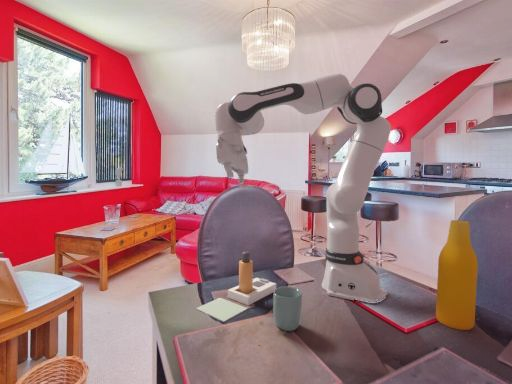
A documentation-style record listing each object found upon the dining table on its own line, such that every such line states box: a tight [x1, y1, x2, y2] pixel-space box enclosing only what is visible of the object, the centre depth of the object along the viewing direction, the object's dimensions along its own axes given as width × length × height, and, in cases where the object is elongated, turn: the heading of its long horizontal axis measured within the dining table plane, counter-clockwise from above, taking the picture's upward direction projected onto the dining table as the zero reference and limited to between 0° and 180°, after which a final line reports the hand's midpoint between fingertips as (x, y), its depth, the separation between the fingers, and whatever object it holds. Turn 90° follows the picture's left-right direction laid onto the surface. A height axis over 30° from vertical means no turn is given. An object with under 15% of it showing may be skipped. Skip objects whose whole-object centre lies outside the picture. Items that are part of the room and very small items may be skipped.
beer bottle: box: [435, 219, 479, 331], centre depth 83 cm, size 9×9×29 cm
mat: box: [195, 297, 248, 323], centre depth 89 cm, size 12×10×1 cm
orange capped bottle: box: [238, 251, 254, 295], centre depth 97 cm, size 4×4×15 cm
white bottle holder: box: [227, 277, 277, 306], centre depth 100 cm, size 15×9×4 cm, turn 141°
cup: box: [272, 285, 303, 332], centre depth 81 cm, size 8×8×10 cm
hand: (236, 180), depth 105 cm, fingers open, 8 cm apart
